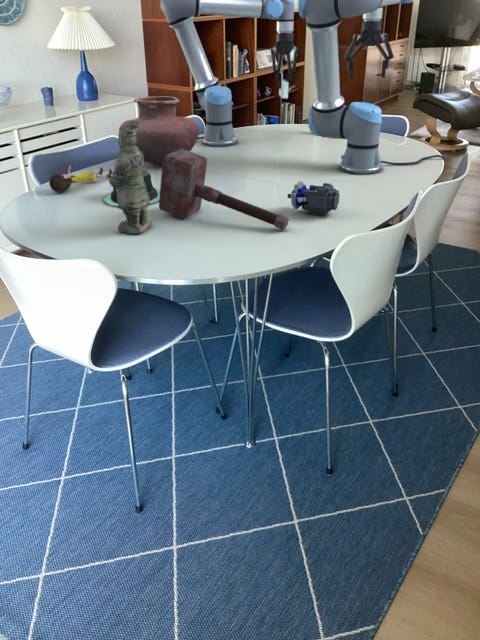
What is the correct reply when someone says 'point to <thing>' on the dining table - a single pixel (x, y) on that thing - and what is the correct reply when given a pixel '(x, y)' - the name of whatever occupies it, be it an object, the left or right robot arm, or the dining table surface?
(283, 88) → the ink box
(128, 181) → the statue
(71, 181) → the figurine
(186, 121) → the clay pot
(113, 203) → the chocolate cake
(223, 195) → the sledgehammer
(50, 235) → the dining table surface
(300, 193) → the toy
